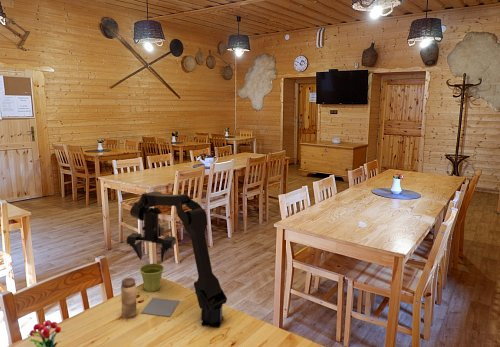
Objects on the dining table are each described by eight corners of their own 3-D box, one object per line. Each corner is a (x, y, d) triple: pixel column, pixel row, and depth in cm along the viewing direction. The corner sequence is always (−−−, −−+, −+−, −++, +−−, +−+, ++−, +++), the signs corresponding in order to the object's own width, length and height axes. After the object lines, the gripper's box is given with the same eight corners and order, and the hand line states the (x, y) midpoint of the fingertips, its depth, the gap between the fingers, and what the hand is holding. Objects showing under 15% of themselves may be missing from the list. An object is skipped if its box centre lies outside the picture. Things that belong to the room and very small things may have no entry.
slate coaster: (180, 301, 147) (180, 300, 147) (169, 317, 136) (169, 316, 136) (152, 298, 148) (152, 297, 148) (140, 313, 138) (140, 312, 138)
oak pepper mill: (139, 311, 139) (138, 278, 136) (132, 319, 134) (131, 284, 131) (126, 310, 139) (125, 276, 137) (119, 317, 135) (118, 283, 132)
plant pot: (158, 295, 151) (157, 274, 149) (135, 292, 152) (135, 271, 151) (167, 284, 160) (167, 264, 158) (146, 281, 162) (146, 262, 160)
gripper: (180, 219, 157) (180, 254, 160) (137, 215, 160) (138, 250, 163) (171, 227, 146) (171, 266, 149) (125, 223, 149) (126, 261, 152)
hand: (151, 260), depth 154 cm, fingers open, 9 cm apart
